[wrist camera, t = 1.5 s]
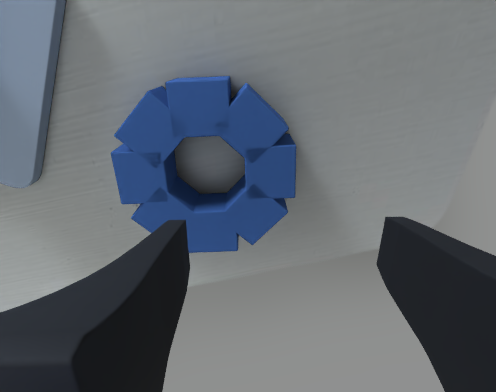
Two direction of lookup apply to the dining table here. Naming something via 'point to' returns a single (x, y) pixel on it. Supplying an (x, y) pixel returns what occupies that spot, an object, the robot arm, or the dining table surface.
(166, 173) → the ring
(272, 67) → the dining table surface
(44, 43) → the shower valve
